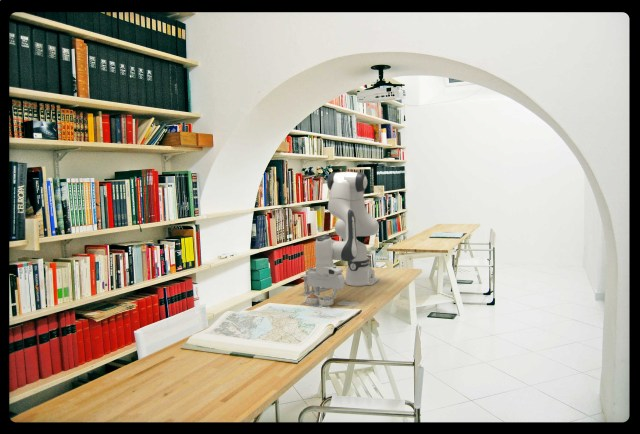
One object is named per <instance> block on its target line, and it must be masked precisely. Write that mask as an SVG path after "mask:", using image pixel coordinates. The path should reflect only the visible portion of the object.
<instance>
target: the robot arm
mask: <svg viewBox="0 0 640 434" xmlns="http://www.w3.org/2000/svg"><path fill="white" fill-rule="evenodd" d="M367 178H368V177H367V176H366V174H365V173H363V172H355V171H342V172H337V171H334V172H331V173H329V175H328V176H327V180H326V182H327V183H326V185H327V188H328V190H329V191H330V192H329V196H328V197H329V198H328V204H327V206H328V207H327V209H328V211H329V213H330V214H331V215H332V216H334V218H337V220H336V221H335V224H334V231H335V234H336V235H337V236H338V237H340V238H341V239H342V240H334V239H332V237H331V236H330V235H321V236H318V237H317V238H316V239H315V244H314V254H315V255H314V256H315V258H316V259H315V267H309V268H308V269H307V270H306V271H307V273H308V276H307V284H308V286H309V287H312V286H313V288H314V290H315V292H316V293H315V295H317V296H319V297H320V295H321V292H319V291H318V289H317V288H318V287H320V288H331V289H332V290H333V293H332V294H331V297H332V298H333V299H335V298H336V297H337V293H338V291H339V290H342V289H344V288H345V284H346V285H348V286H351V287H352V286H353V287H361V286H373V285H374V284H376V283H377V282H378V281H379V279H380V278H379V277H376V274H375V270H374V269H373V268H372V267H371V266H370V263H371V258H368V251H367V250H368V248H367V246H366V244H365V243H363V242H361V241H360V240H358V239H357V237H369V236H375V235H376V234H377V233H378V232H379V228H380V225H379V221H378V220H377V219H376V218H374V217H373V216H371V214H369V212H368V211H367V209H366V206H365V200H364V199H365V198H364V191H365V190H366V189H367V186H368V179H367ZM334 261H343V262H347V268H346V271H345V276H344V274H343V268H342V267H340V266H337V265H335V264H334ZM331 289H330V290H331Z"/></svg>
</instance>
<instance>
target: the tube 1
mask: <svg viewBox="0 0 640 434" xmlns="http://www.w3.org/2000/svg"><path fill="white" fill-rule="evenodd" d="M315 295H316V294H315ZM309 296H310V295H308V296H305V302H306V303H308V304H316V303H319V298H321V297H320V295H319V296H317V295H316V297H317V298H312V299H311V298H309Z"/></svg>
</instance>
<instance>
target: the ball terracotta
mask: <svg viewBox="0 0 640 434" xmlns="http://www.w3.org/2000/svg"><path fill="white" fill-rule="evenodd" d="M308 296H309V298H311V299H312V298H317V297H316V294H315V293H314V294H311V295H308Z"/></svg>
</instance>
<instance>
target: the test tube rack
mask: <svg viewBox="0 0 640 434" xmlns="http://www.w3.org/2000/svg"><path fill="white" fill-rule="evenodd" d="M307 271H308V270H305V274H300V277H302V278H303V284H304V285H303V286H304V288H303V289H304V292H303V293H301V294H300V295H301V296H305V297H307V296H310V295H311V294H314V295H315V294H316V292H315V290H314V288H313V286H311V287H310V286H308V284H307V276H308V273H307ZM310 288H311V290H310ZM317 289H318V291H319V292H320V293H322V292H325V291H328V290H331V288H322V287H318V288H317Z"/></svg>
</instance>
